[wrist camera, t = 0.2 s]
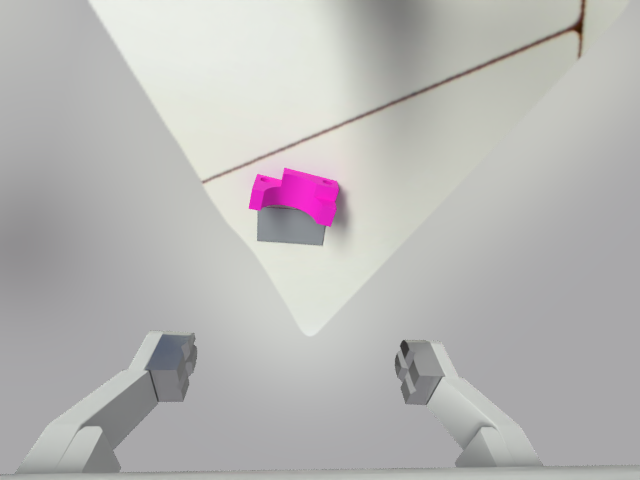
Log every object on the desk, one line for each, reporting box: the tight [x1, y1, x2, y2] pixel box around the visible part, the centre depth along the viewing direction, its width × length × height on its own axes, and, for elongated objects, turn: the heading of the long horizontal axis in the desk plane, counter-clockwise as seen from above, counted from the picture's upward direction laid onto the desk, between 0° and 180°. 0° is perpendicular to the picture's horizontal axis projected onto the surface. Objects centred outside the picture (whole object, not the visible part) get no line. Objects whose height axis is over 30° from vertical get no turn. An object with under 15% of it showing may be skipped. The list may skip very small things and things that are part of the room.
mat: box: [257, 207, 325, 245], centre depth 62 cm, size 8×14×1 cm, turn 83°
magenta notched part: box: [249, 168, 339, 227], centre depth 55 cm, size 15×6×8 cm, turn 74°
